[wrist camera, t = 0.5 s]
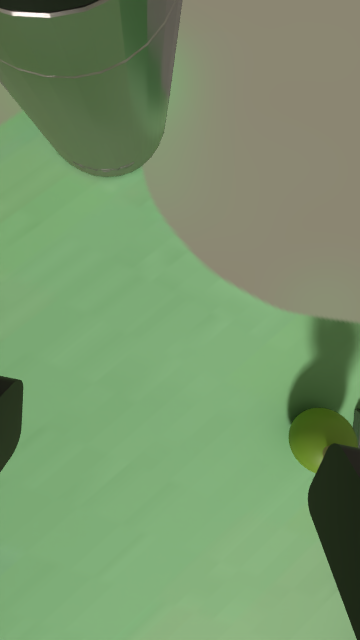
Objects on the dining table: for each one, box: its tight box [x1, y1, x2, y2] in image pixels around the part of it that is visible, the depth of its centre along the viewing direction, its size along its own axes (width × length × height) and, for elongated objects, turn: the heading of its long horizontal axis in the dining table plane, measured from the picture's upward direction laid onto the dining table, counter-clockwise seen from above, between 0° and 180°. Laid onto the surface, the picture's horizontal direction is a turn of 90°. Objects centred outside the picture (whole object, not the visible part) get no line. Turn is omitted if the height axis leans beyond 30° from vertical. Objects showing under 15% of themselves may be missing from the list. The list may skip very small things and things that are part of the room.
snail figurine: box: [289, 408, 358, 473], centre depth 25 cm, size 5×6×12 cm
